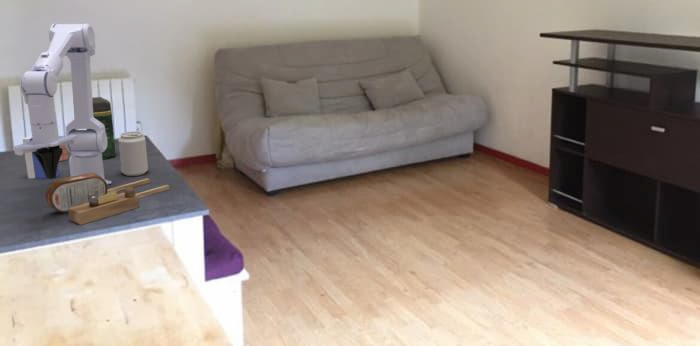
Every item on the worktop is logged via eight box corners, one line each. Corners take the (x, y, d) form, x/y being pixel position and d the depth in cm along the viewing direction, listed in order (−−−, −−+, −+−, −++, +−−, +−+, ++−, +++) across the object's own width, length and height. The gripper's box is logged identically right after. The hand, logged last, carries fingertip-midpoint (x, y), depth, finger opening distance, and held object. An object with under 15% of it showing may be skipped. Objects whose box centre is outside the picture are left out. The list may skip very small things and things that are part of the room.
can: (140, 177, 200) (137, 137, 196) (116, 176, 201) (112, 135, 198) (153, 170, 207) (149, 130, 203) (129, 168, 208) (125, 129, 205)
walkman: (59, 174, 203) (53, 134, 199) (56, 177, 200) (50, 137, 196) (31, 175, 202) (25, 135, 198) (27, 178, 199) (21, 137, 196)
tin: (105, 199, 182) (102, 169, 180) (111, 202, 180) (107, 171, 177) (47, 213, 172) (42, 181, 170) (52, 217, 170) (47, 184, 167)
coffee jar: (118, 157, 220) (112, 99, 214) (92, 161, 216) (85, 102, 210) (113, 150, 228) (107, 94, 222) (87, 153, 224) (80, 96, 219)
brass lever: (92, 207, 167) (91, 198, 167) (87, 205, 169) (86, 196, 168) (118, 199, 172) (117, 191, 172) (113, 197, 174) (113, 189, 173)
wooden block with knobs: (69, 220, 168) (67, 200, 166) (128, 202, 180) (126, 184, 178) (80, 225, 165) (78, 205, 163) (139, 207, 176) (137, 188, 175)
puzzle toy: (58, 156, 221) (56, 139, 220) (69, 159, 218) (67, 141, 216) (42, 160, 217) (39, 143, 215) (52, 163, 214) (50, 145, 212)
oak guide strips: (99, 195, 185) (99, 191, 185) (147, 181, 196) (147, 178, 196) (120, 203, 179) (120, 199, 179) (169, 189, 190) (169, 185, 190)
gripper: (21, 130, 155) (29, 188, 159) (81, 119, 166) (87, 174, 170) (6, 126, 159) (14, 182, 163) (65, 115, 170) (72, 168, 174)
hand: (51, 177), depth 167 cm, fingers closed
